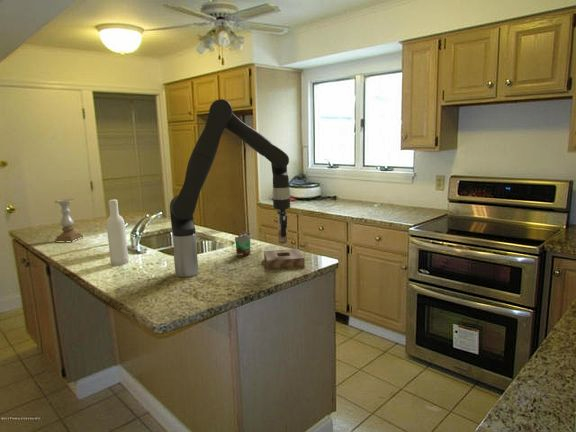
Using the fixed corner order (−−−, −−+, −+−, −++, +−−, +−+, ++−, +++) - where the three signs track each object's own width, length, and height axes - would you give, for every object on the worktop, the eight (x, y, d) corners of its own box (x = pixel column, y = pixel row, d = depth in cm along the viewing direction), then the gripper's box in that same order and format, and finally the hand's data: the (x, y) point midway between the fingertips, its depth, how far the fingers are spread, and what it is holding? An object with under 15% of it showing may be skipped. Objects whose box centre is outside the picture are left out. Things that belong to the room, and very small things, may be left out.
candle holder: (67, 237, 251) (61, 198, 246) (83, 238, 249) (78, 198, 245) (54, 242, 240) (49, 201, 235) (72, 242, 238) (66, 201, 234)
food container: (248, 258, 196) (247, 237, 194) (235, 257, 197) (234, 237, 195) (255, 251, 208) (254, 231, 206) (243, 250, 209) (242, 231, 207)
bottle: (107, 263, 194) (100, 200, 188) (124, 259, 200) (117, 198, 194) (115, 266, 189) (108, 201, 183) (131, 262, 194) (125, 199, 189)
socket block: (267, 269, 177) (267, 260, 177) (264, 259, 193) (264, 251, 192) (304, 266, 180) (304, 258, 179) (298, 256, 195) (297, 248, 195)
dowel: (279, 244, 182) (278, 217, 180) (278, 241, 186) (276, 215, 184) (288, 243, 183) (287, 216, 181) (287, 241, 187) (286, 215, 185)
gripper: (271, 195, 187) (272, 232, 190) (274, 200, 173) (276, 240, 177) (287, 194, 188) (288, 231, 192) (292, 199, 175) (293, 238, 178)
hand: (282, 235), depth 184 cm, fingers closed on dowel, 4 cm apart
